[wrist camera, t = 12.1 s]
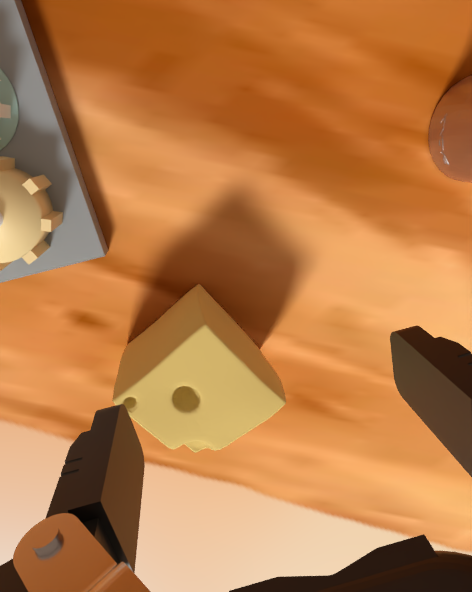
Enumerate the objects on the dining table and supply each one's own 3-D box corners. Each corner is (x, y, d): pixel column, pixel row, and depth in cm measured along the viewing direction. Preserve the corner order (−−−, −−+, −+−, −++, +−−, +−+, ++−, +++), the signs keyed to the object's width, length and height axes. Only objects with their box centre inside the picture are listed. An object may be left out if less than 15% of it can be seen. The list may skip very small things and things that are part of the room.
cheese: (191, 408, 46) (196, 478, 36) (118, 342, 42) (101, 401, 32) (267, 348, 44) (292, 404, 35) (198, 274, 40) (205, 315, 31)
